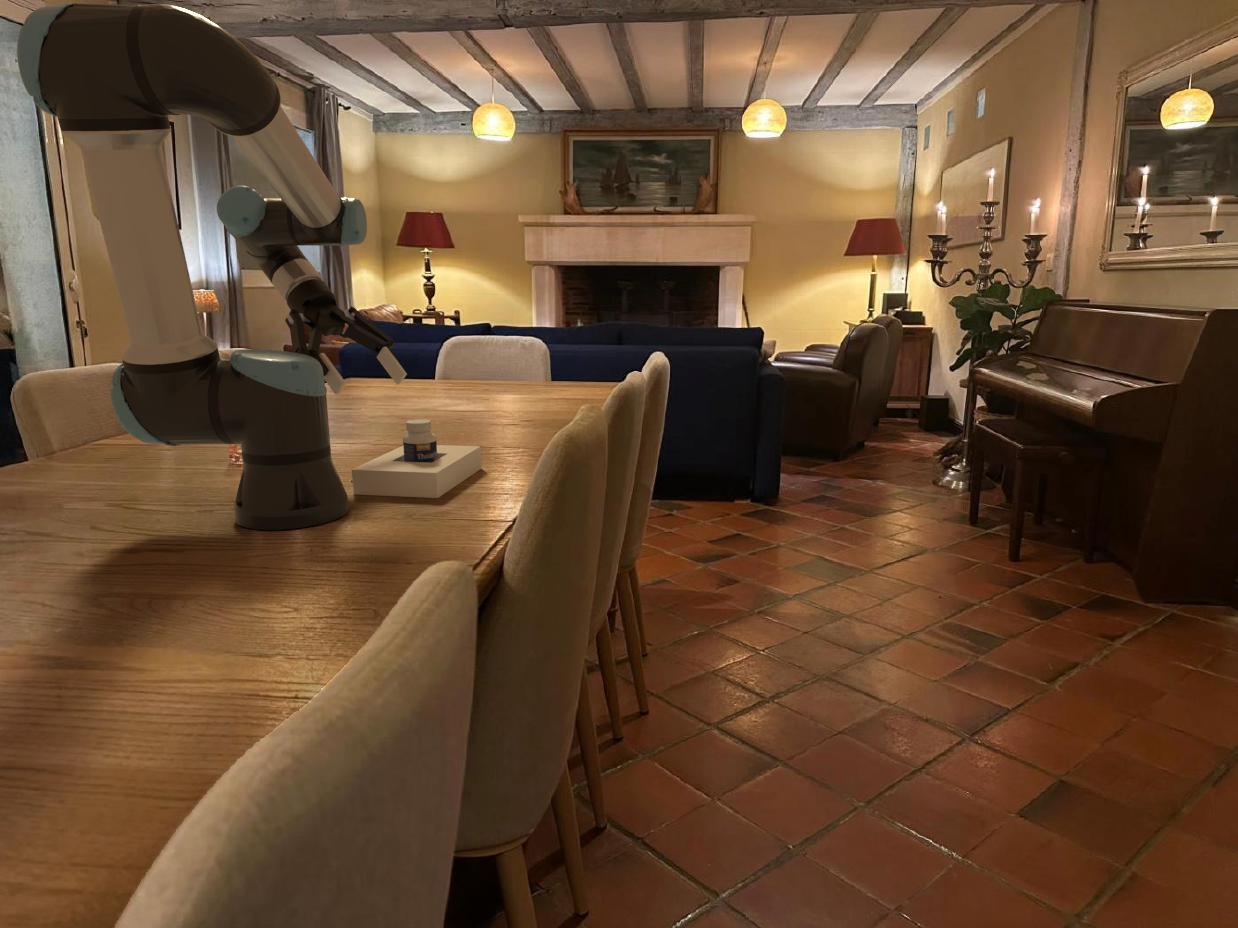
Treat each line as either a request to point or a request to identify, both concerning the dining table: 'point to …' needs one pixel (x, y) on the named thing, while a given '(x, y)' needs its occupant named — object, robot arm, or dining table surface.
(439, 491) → the socket block
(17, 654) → the dining table surface
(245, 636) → the dining table surface
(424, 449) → the pill bottle
